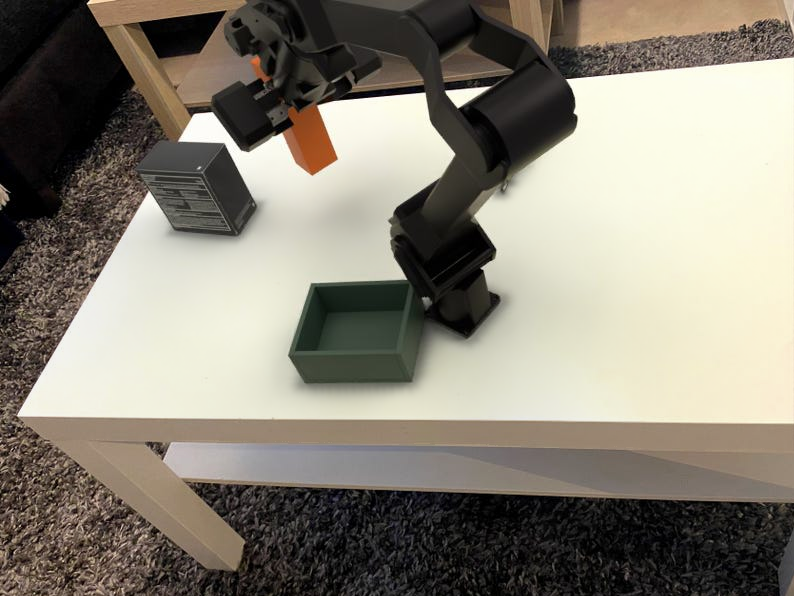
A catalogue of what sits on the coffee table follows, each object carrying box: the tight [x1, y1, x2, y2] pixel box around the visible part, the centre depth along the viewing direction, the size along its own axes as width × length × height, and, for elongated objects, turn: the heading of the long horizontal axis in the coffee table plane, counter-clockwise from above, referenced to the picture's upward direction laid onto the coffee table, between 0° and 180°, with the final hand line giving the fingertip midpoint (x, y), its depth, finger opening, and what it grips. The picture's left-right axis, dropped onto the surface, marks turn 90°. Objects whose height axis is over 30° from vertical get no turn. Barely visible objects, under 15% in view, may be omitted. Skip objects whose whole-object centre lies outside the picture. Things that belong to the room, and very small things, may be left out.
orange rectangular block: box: [249, 56, 339, 177], centre depth 86 cm, size 4×4×14 cm
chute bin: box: [287, 279, 427, 384], centre depth 80 cm, size 12×10×5 cm
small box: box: [134, 140, 258, 236], centre depth 96 cm, size 11×6×10 cm, turn 74°
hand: (292, 112), depth 87 cm, fingers closed on orange rectangular block, 4 cm apart
